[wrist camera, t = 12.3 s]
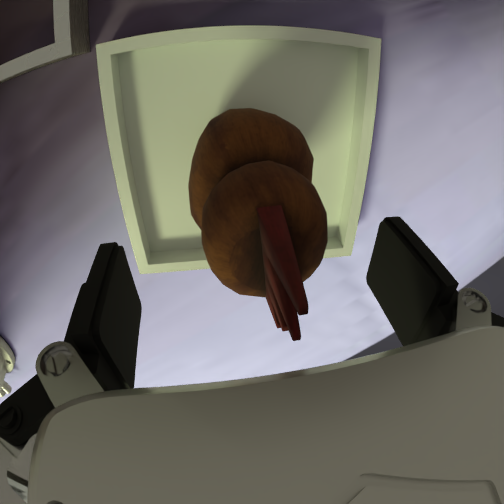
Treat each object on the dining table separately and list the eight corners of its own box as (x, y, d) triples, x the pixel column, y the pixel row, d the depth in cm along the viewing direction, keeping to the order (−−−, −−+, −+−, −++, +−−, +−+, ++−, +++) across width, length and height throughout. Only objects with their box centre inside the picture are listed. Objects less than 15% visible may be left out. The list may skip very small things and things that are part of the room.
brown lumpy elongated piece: (208, 87, 16) (209, 217, 4) (299, 112, 18) (461, 270, 6) (183, 186, 20) (165, 412, 8) (266, 203, 22) (333, 412, 10)
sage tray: (340, 237, 26) (350, 255, 24) (144, 253, 24) (140, 274, 22) (362, 37, 16) (381, 38, 14) (109, 44, 14) (95, 44, 12)
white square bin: (90, 52, 14) (71, 54, 12) (-33, 100, 13) (-57, 111, 11) (91, -78, 8) (75, -92, 6) (-38, -14, 7) (-61, -14, 4)
